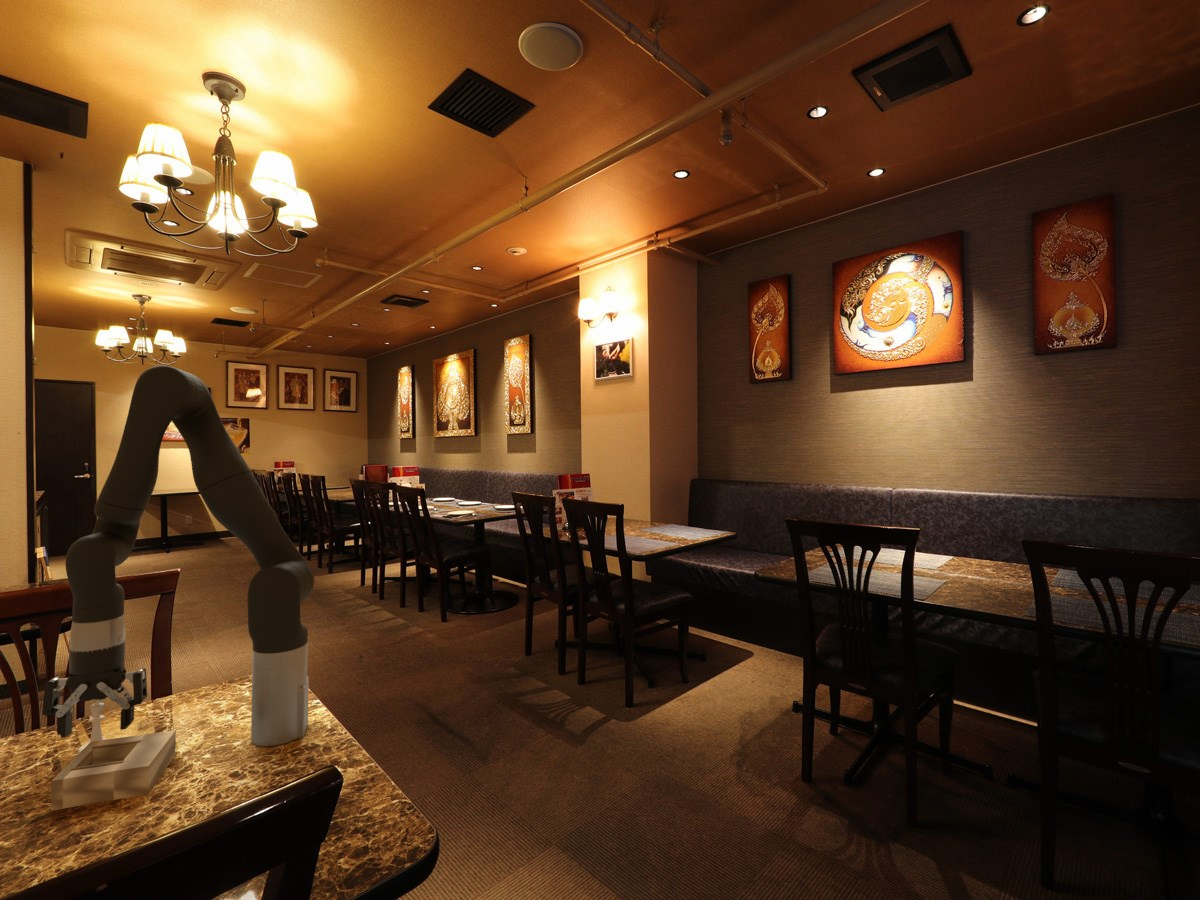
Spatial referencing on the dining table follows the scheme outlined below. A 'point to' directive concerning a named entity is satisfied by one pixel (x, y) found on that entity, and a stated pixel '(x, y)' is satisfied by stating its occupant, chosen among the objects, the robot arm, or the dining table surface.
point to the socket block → (113, 770)
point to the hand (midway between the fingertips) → (96, 731)
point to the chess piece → (95, 723)
